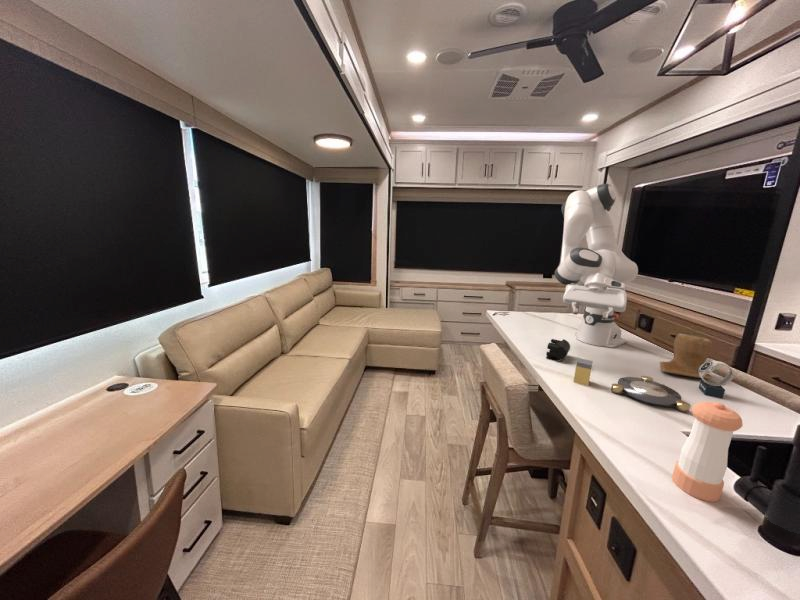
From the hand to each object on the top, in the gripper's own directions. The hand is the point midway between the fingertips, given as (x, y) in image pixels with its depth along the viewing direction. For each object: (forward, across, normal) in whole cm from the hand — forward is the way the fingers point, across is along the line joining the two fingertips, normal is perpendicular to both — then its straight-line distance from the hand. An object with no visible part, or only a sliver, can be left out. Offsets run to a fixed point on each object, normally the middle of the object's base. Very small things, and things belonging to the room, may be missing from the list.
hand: (589, 315), depth 113 cm
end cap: (+11, -9, +18) cm, 23 cm away
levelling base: (+21, +21, +8) cm, 31 cm away
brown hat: (0, +30, +30) cm, 43 cm away
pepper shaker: (+49, +28, -19) cm, 60 cm away
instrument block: (+23, +2, +6) cm, 24 cm away
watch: (+9, +37, +20) cm, 43 cm away
